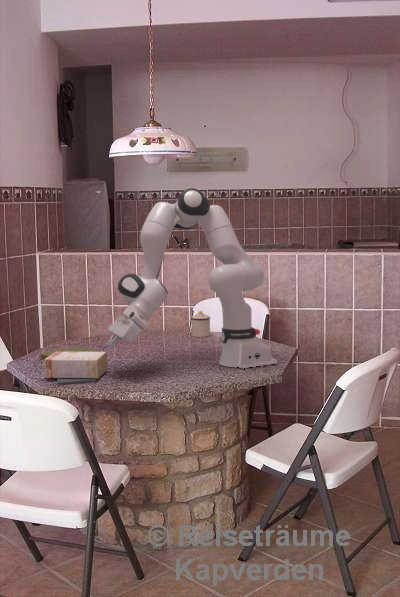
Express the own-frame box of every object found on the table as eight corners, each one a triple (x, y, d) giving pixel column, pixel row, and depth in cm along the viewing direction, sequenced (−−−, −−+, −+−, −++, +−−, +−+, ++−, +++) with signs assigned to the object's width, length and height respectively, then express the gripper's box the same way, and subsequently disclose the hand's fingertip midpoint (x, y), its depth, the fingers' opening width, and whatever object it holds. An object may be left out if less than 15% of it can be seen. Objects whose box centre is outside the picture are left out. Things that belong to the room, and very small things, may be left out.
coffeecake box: (107, 369, 277) (56, 369, 279) (107, 350, 276) (56, 350, 278) (97, 379, 262) (44, 378, 264) (97, 359, 261) (43, 359, 263)
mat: (90, 372, 276) (90, 370, 276) (95, 382, 261) (95, 379, 261) (54, 374, 273) (54, 372, 273) (58, 385, 258) (58, 382, 258)
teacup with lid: (212, 334, 350) (212, 310, 349) (207, 338, 342) (206, 313, 340) (188, 333, 354) (188, 309, 352) (182, 336, 345) (182, 312, 344)
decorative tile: (72, 366, 289) (71, 357, 288) (39, 360, 302) (39, 351, 301) (107, 358, 303) (106, 349, 303) (74, 352, 316) (74, 344, 315)
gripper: (120, 308, 277) (95, 336, 275) (136, 315, 258) (110, 345, 256) (131, 319, 279) (107, 346, 277) (149, 327, 261) (122, 357, 258)
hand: (108, 346), depth 266 cm, fingers closed
